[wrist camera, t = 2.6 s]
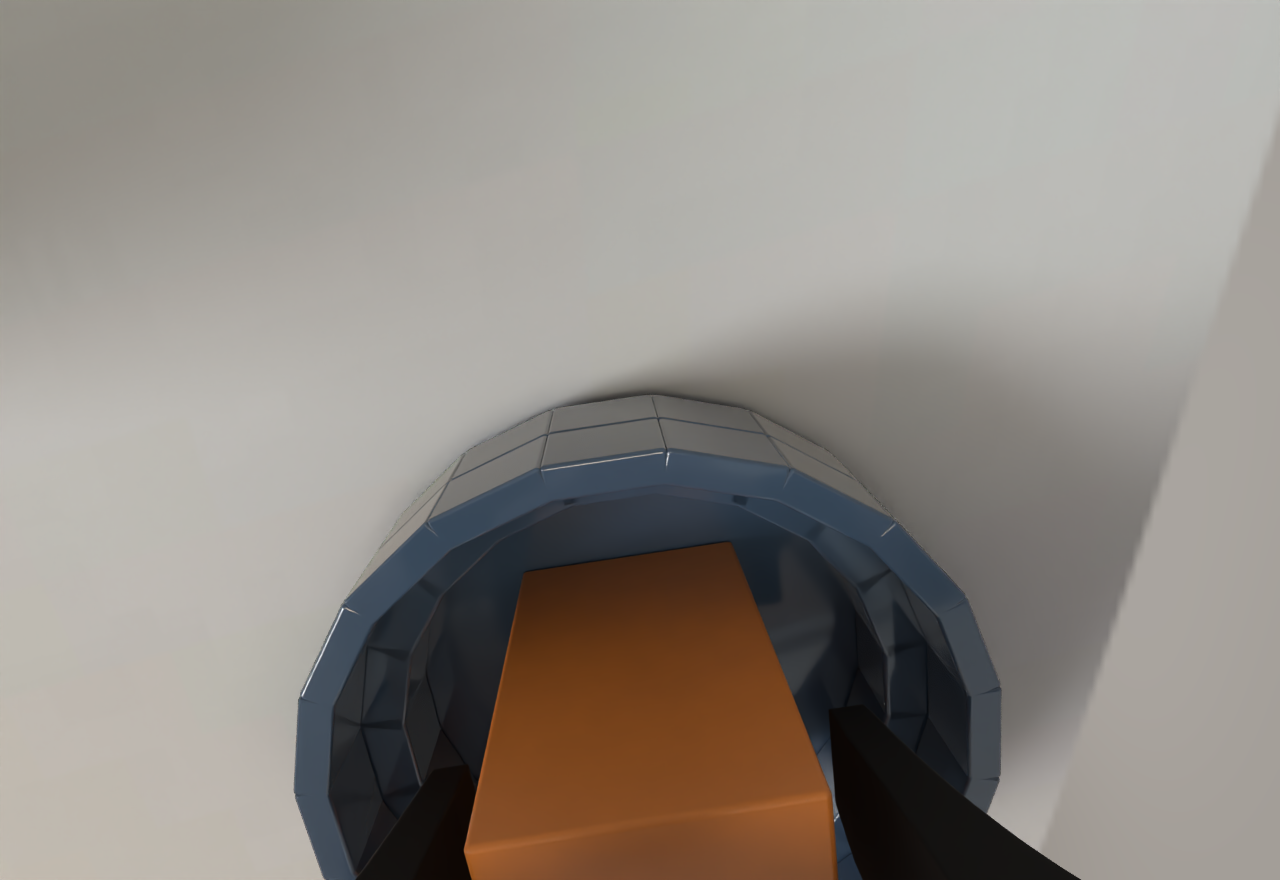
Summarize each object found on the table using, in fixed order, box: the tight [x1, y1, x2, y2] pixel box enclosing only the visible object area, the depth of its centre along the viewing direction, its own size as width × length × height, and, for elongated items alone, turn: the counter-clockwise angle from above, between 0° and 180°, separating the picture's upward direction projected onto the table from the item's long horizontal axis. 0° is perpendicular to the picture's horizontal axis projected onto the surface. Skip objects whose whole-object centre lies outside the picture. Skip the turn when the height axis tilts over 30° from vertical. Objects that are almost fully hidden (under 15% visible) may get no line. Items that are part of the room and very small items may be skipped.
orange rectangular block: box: [464, 542, 838, 880], centre depth 13 cm, size 4×6×7 cm
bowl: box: [294, 394, 1001, 880], centre depth 15 cm, size 12×12×4 cm
